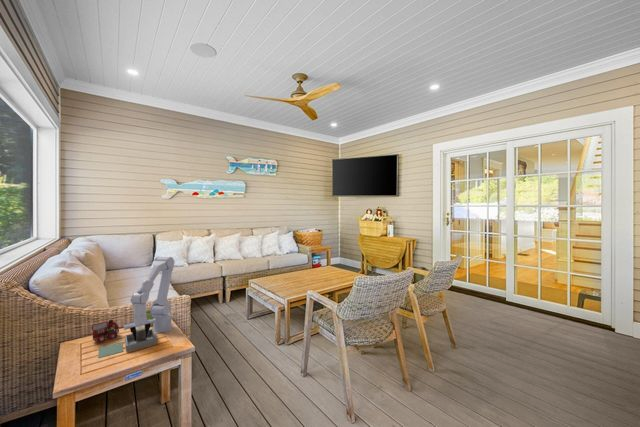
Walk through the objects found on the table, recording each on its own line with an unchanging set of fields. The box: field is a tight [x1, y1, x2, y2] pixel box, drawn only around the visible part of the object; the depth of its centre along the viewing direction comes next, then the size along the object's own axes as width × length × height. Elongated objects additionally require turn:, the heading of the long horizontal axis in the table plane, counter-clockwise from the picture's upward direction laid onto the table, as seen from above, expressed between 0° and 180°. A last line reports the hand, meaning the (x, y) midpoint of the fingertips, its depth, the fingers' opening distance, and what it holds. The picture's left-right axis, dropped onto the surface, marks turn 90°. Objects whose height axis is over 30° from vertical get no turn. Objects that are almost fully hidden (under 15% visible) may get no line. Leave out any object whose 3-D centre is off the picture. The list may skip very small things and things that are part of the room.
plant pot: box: [146, 309, 153, 327], centre depth 175 cm, size 9×9×9 cm
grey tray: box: [124, 328, 158, 353], centre depth 151 cm, size 14×23×4 cm, turn 38°
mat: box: [97, 341, 124, 359], centre depth 143 cm, size 10×12×1 cm
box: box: [136, 325, 146, 343], centre depth 151 cm, size 4×9×7 cm, turn 38°
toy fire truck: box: [90, 319, 120, 344], centre depth 155 cm, size 7×12×10 cm, turn 142°
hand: (140, 339), depth 151 cm, fingers closed on box, 4 cm apart
